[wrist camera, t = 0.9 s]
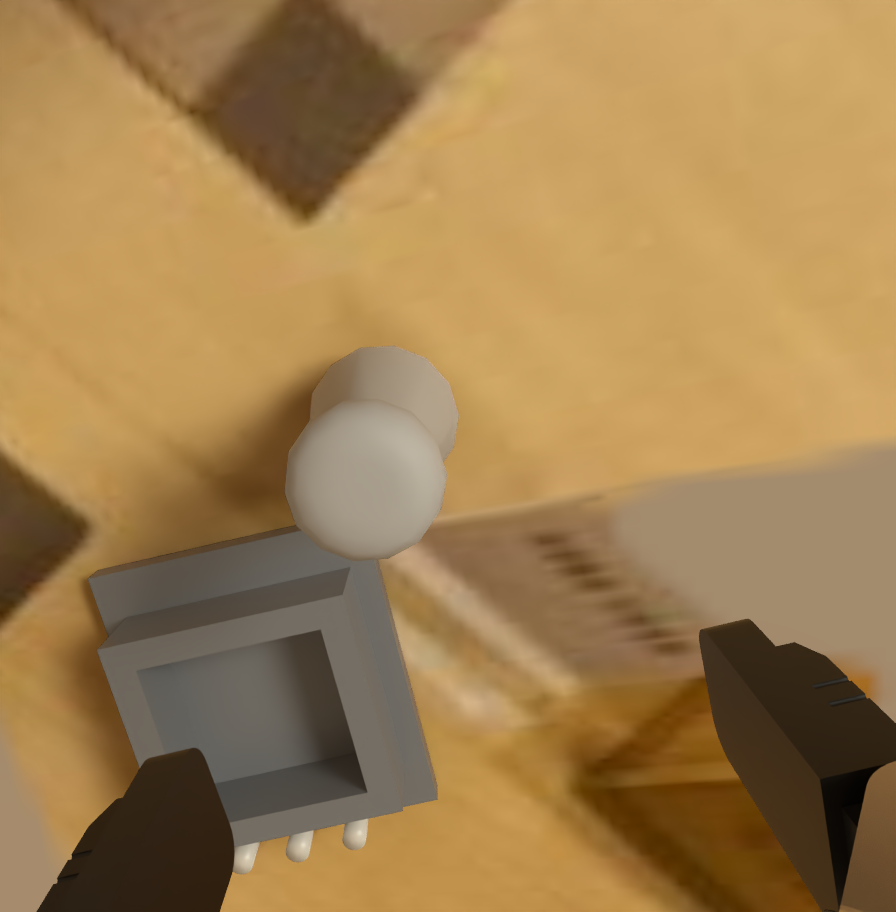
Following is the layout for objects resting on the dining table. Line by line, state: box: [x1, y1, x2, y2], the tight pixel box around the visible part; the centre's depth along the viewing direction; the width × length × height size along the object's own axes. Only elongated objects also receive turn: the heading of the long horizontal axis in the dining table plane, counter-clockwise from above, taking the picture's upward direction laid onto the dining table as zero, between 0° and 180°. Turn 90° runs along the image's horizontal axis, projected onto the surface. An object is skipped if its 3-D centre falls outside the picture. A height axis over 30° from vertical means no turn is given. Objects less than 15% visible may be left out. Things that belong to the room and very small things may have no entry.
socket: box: [88, 525, 438, 874], centre depth 32 cm, size 14×12×4 cm
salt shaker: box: [285, 346, 459, 561], centre depth 25 cm, size 6×6×13 cm
